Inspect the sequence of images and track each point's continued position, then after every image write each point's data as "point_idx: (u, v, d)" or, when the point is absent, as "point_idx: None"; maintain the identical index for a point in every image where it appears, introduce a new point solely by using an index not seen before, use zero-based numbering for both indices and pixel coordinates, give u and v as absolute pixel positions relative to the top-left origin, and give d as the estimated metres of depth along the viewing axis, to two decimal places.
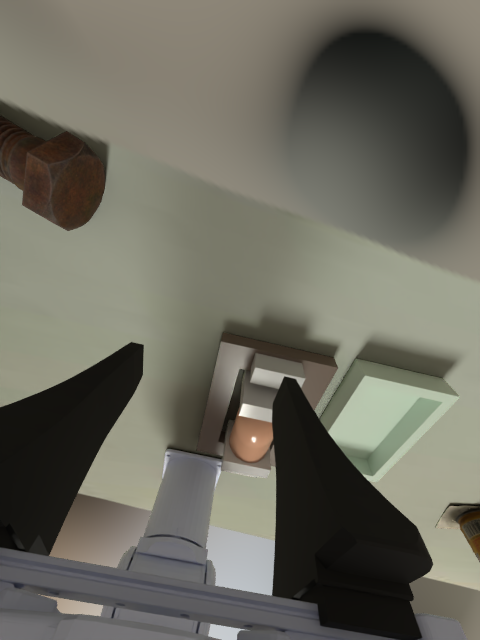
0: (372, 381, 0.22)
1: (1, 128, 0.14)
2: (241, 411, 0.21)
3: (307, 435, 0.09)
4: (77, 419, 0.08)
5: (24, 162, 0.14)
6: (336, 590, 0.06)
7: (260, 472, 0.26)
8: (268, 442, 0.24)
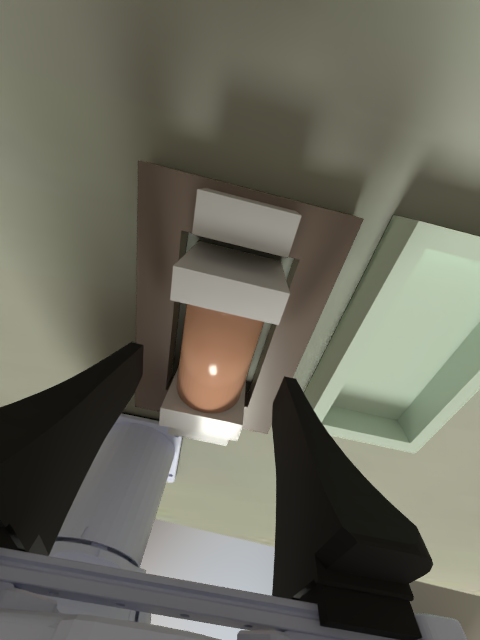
0: (431, 238, 0.11)
1: None
2: (173, 288, 0.11)
3: (307, 435, 0.09)
4: (77, 419, 0.08)
5: None
6: (336, 591, 0.06)
7: (225, 430, 0.15)
8: (235, 370, 0.13)
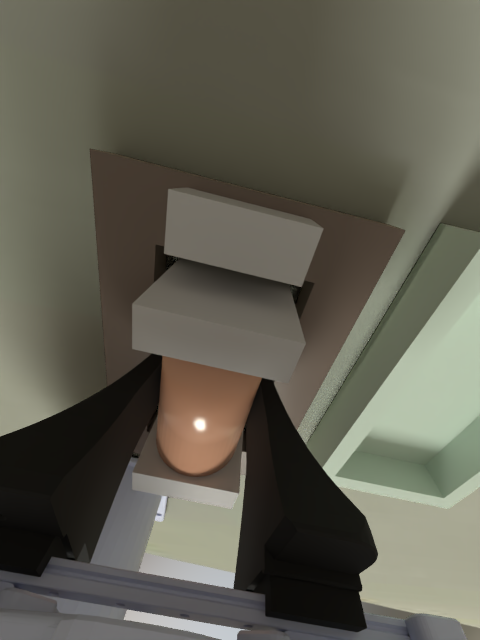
0: None
1: None
2: (135, 334, 0.07)
3: (270, 427, 0.08)
4: (119, 428, 0.08)
5: None
6: (284, 581, 0.06)
7: (216, 498, 0.12)
8: (228, 429, 0.10)
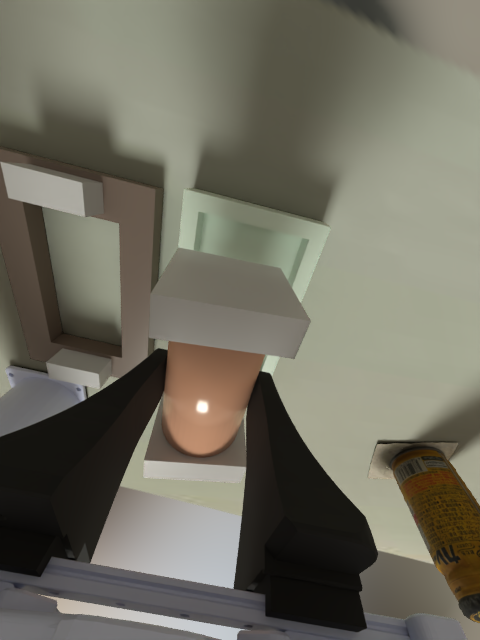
0: (199, 203, 0.15)
1: None
2: (152, 323, 0.08)
3: (270, 427, 0.08)
4: (119, 428, 0.08)
5: None
6: (284, 581, 0.06)
7: (226, 474, 0.13)
8: (236, 408, 0.11)
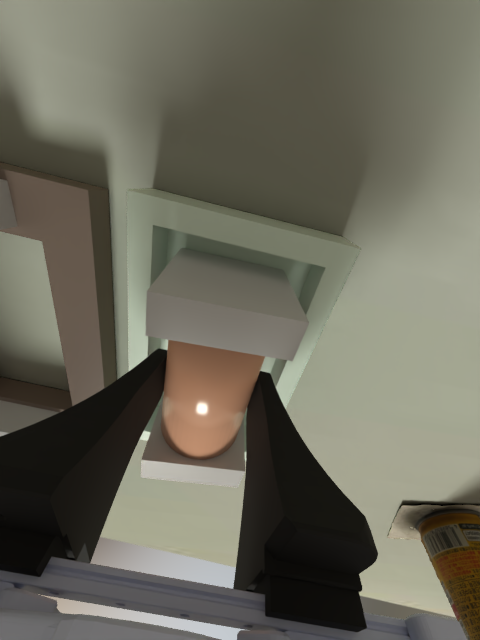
0: (154, 212, 0.09)
1: None
2: (149, 321, 0.08)
3: (270, 427, 0.08)
4: (119, 428, 0.08)
5: None
6: (284, 581, 0.06)
7: (223, 478, 0.12)
8: (235, 410, 0.11)
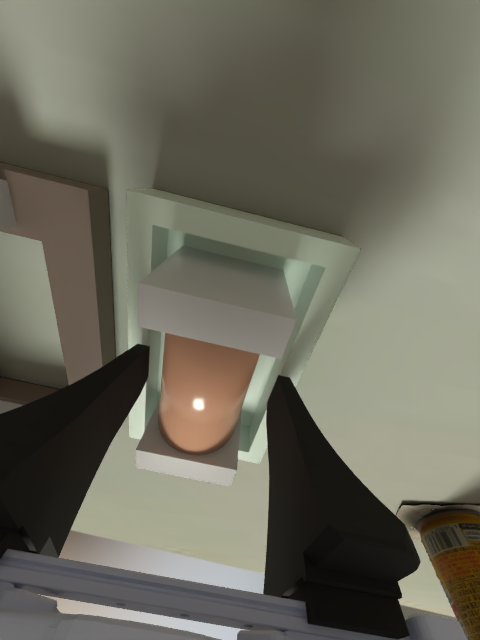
0: (154, 212, 0.09)
1: None
2: (140, 312, 0.08)
3: (299, 433, 0.09)
4: (87, 421, 0.08)
5: None
6: (324, 588, 0.06)
7: (215, 475, 0.12)
8: (227, 407, 0.11)
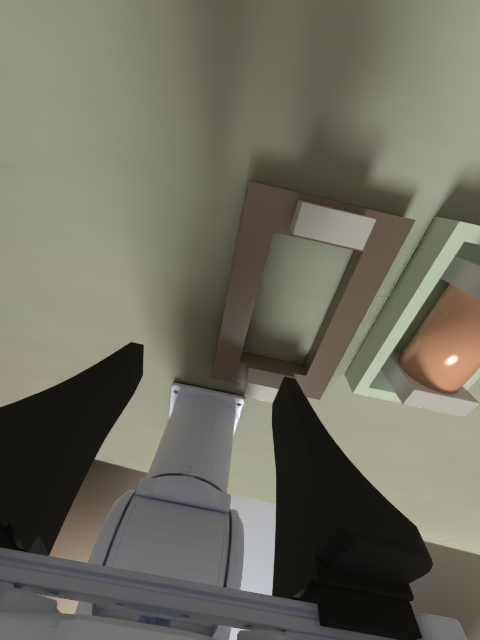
0: (467, 233, 0.15)
1: None
2: None
3: (307, 435, 0.09)
4: (77, 419, 0.08)
5: None
6: (337, 591, 0.06)
7: (460, 408, 0.18)
8: None
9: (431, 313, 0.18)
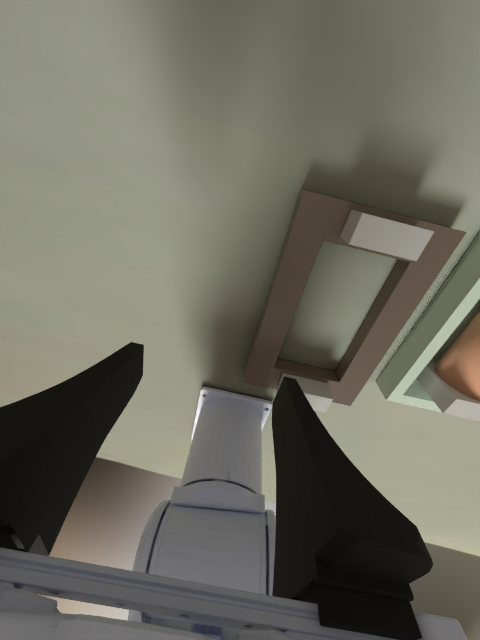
0: None
1: None
2: None
3: (307, 435, 0.09)
4: (77, 419, 0.08)
5: None
6: (337, 591, 0.06)
7: None
8: None
9: (473, 323, 0.18)
